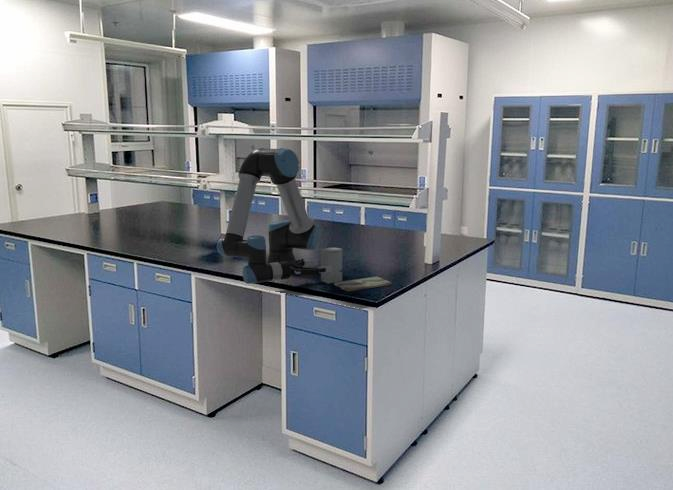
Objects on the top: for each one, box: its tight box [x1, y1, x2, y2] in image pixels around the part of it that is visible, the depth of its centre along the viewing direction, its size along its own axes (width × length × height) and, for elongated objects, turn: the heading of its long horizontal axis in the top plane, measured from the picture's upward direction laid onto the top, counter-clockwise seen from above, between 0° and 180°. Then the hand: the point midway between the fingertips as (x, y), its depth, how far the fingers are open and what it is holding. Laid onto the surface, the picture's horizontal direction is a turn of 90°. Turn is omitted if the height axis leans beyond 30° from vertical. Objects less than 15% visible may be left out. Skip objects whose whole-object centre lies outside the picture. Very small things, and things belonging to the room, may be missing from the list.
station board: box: [333, 275, 392, 292], centre depth 239 cm, size 12×22×1 cm, turn 118°
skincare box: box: [320, 247, 343, 284], centre depth 244 cm, size 8×6×15 cm
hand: (324, 265), depth 241 cm, fingers open, 13 cm apart
